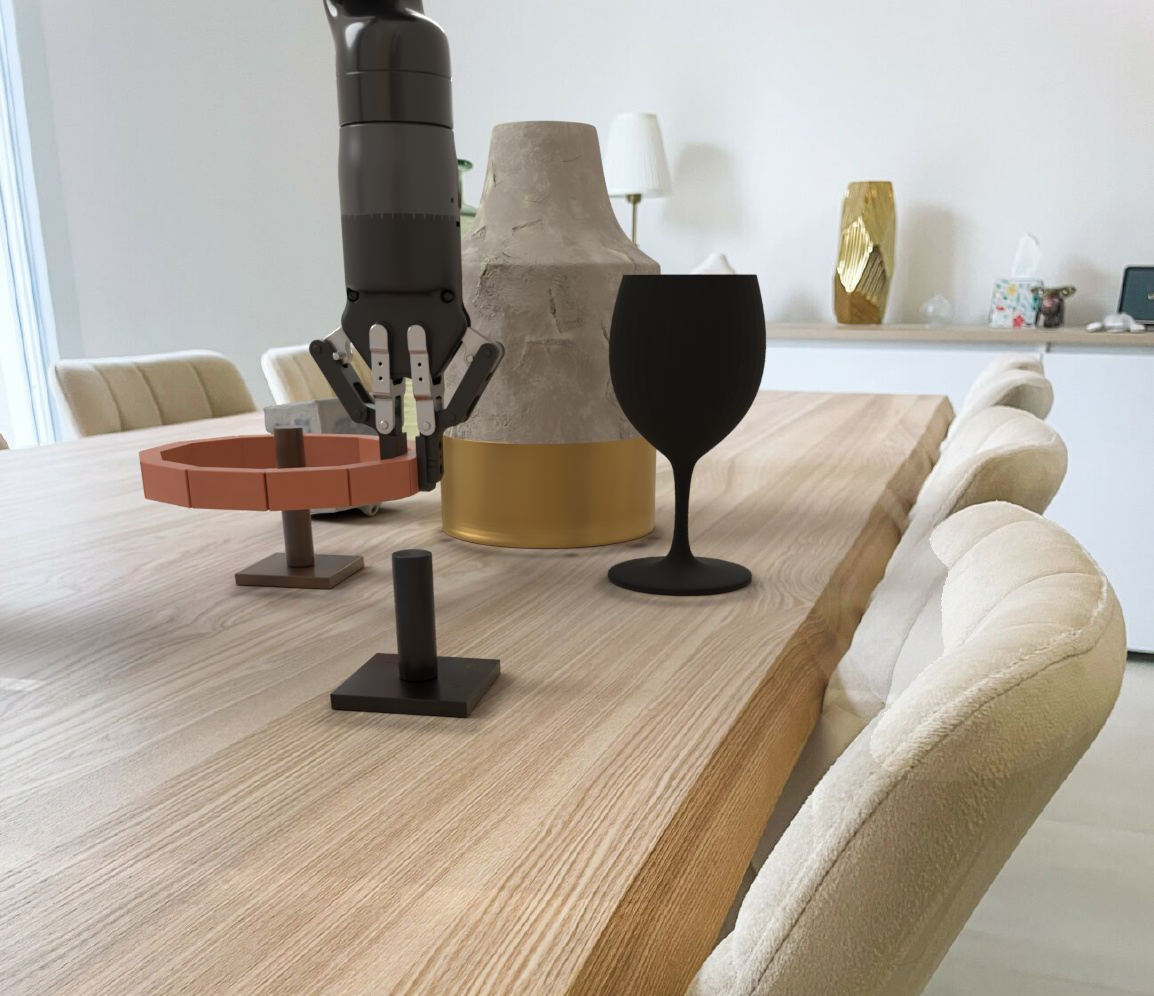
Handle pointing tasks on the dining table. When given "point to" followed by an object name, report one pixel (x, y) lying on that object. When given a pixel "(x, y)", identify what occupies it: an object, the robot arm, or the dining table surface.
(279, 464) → the walnut post
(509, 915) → the dining table surface
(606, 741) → the dining table surface
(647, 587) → the wine glass
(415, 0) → the robot arm
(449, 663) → the metal post
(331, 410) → the incense holder
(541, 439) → the vase
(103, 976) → the dining table surface
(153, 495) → the ring
